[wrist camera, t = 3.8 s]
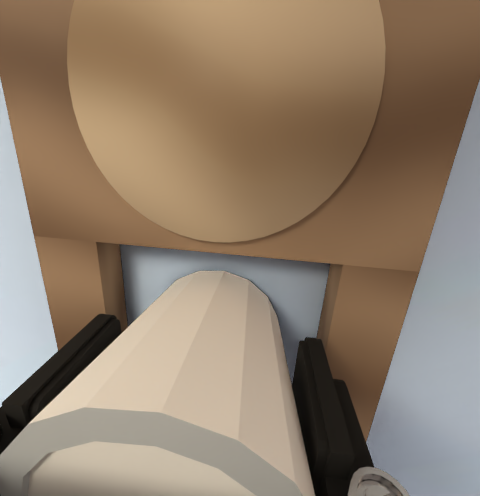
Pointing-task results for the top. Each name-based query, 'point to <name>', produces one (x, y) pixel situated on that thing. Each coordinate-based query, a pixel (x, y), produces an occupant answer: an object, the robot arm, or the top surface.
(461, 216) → the top surface
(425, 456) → the top surface
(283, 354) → the cream short cylinder
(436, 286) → the top surface
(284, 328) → the top surface
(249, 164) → the pocket board
